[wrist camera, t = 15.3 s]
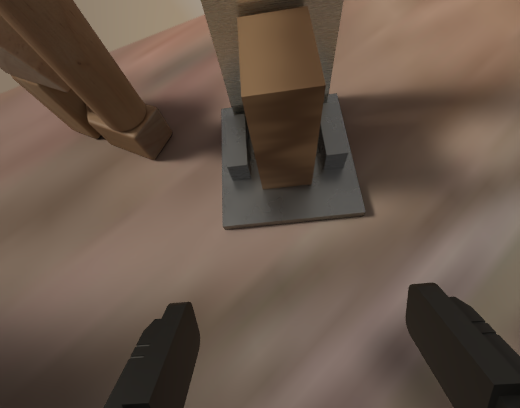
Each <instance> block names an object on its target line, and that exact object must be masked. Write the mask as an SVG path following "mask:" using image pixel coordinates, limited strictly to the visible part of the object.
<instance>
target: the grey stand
mask: <svg viewBox="0 0 520 408" xmlns="http://www.w3.org/2000/svg"><path fill="white" fill-rule="evenodd" d="M201 2H202V6H203V9H204V13H205V17H206V20H207V23H208V27H209V30H210V34H211V37H212V41H213V44H214V48H215V51H216V55H217V58H218V62H219V65H220V69H221V72H222V75H223V79H224V82H225V86H226V89H227V93H228V96H229V100H230V103H231V107H232V108H225V109H221V116H222V206H223V228H224V229H225V230H227V229H237V228H247V227H257V226H267V225H277V224H287V223H297V222H307V221H317V220H327V219H337V218H347V217H357V216H363V215H364V214H365V207H364V203H363V199H362V195H361V191H360V187H359V183H358V179H357V175H356V170H355V166H354V162H353V158H352V154H351V150H350V146H349V142H348V138H347V133H346V129H345V125H344V121H343V117H342V113H341V109H340V105H339V101H338V96H337V93H336V94H329V88H330V81H331V75H332V69H333V63H334V56H335V50H336V44H337V37H338V31H339V25H340V19H341V12H342V6H343V0H201ZM305 6H308V9H309V13H310V18H311V22H312V26H313V31H314V35H315V40H316V44H317V49H318V53H319V57H320V62H321V66H322V71H323V75H324V80H325V84H326V88H325V95H324V102H323V109H322V116H321V123H320V130H319V137H318V144H317V151H316V158H315V165H314V172H313V179H312V184H308V185H299V186H290V187H281V188H272V189H262V184H261V180H260V176H259V171H258V167H257V163H256V159H255V154H254V150H253V146H252V141H251V137H250V133H249V128H248V124H247V120H246V115H245V111H244V107H243V103H242V98H241V83H240V64H239V45H238V26H237V17H243V16H249V15H256V14H262V13H268V12H274V11H280V10H286V9H293V8H299V7H305Z"/></svg>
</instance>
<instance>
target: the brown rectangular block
mask: <svg viewBox="0 0 520 408" xmlns="http://www.w3.org/2000/svg"><path fill="white" fill-rule="evenodd" d="M237 26H238V45H239V64H240V83H241V98H242V103H243V107H244V111H245V115H246V120H247V124H248V128H249V133H250V137H251V141H252V146H253V150H254V154H255V159H256V163H257V167H258V171H259V176H260V180H261V184H262V189H272V188H281V187H290V186H299V185H308V184H312V179H313V172H314V165H315V158H316V151H317V144H318V137H319V130H320V123H321V116H322V109H323V102H324V95H325V88H326V84H325V80H324V75H323V71H322V66H321V62H320V57H319V53H318V49H317V44H316V40H315V35H314V31H313V26H312V22H311V18H310V13H309V9H308V6H305V7H299V8H293V9H286V10H280V11H274V12H268V13H262V14H256V15H249V16H243V17H237Z"/></svg>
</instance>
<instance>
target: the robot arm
mask: <svg viewBox="0 0 520 408" xmlns="http://www.w3.org/2000/svg"><path fill="white" fill-rule="evenodd" d="M406 325H407V328H408V331H409V334H410V336H411V337H412V339H413V341H414V342H415V344H416V346H417V347H418V349H419V351H420V352H421V354H422V356H423V357H424V359H425V360H426V362H427V364H428V365H429V367H430V369H431V370H432V372H433V374H434V375H435V377H436V379H437V380H438V382H439V384H440V385H441V387H442V389H443V390H444V392H445V394H446V395H447V397H448V398H449V400H450V402H451V403H452V405H453V407H454V408H520V356H519V355H518V354H517V353H516V352H515V351H514V350H513V349H512V348H511V347H510V346H509V345H508V344H507V343H506V342H505V341H504V340H503V339H502V338H501V337H500V336H499V335H497V334H496V332H495V331H494V329H493V328H492V327H491V326H490V325H489V324H488V323H485V320H484V319H483V318H482V317H481V316H480V315H479V314H478V313H477V312H476V311H475V310H474V309H473V308H472V307H471V306H469V305H467V304H466V303H464V302H462V301H461V300H459V299H458V298H456V297H448V296H447V295H446V294H445V293H444V292H443V290H442V289H441V288H440V287H439V286H438V285H437V284H435V283H422V284H411V285H410V286H409V290H408V299H407V308H406ZM199 346H200V333H199V329H198V325H197V321H196V318H195V314H194V310H193V307H192V304H191V302H181V303H170V304H169V305H168V306H167V308H166V310H165V313H164V315H163V317H162V319H155V320H154V321H153V322H152V323H151V324H150V325H149V326H148V327H147V328H146V329H145V330H144V331H143V333H142V335H141V337H140V339H139V341H138V343H137V347H135V349H134V351H133V353H132V354H131V358H130V359H129V360H128V362H127V364H126V366H125V368H124V370H123V372H122V374H121V376H120V377H119V379H118V381H117V383H116V385H115V387H114V389H113V391H112V393H111V395H110V397H109V398H108V400H107V402H106V404H105V406H104V408H184V404H185V400H186V397H187V393H188V389H189V385H190V382H191V378H192V374H193V370H194V367H195V363H196V359H197V355H198V351H199Z"/></svg>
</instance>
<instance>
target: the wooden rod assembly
mask: <svg viewBox="0 0 520 408" xmlns="http://www.w3.org/2000/svg"><path fill="white" fill-rule="evenodd" d="M0 68H1V69H2V70H3V71H5V72H6V73H8V74H11V76H12V78H13V79H14V80H15V81H16V82H18V83H19V84H20V85H21V86H22V87H23V88H25V89H26V90H27V91H28V92H29V93H30V94H32V95H33V96H34V97H35V98H36V99H37V100H39V101H40V102H41V103H42V104H43V105H44V106H46V107H47V108H48V109H49V110H50V111H51V112H53V113H54V114H55V115H56V116H57V117H58V118H60V119H61V120H62V121H63V122H64V123H65V124H67V125H68V126H69V127H70V128H71V129H72V130H74V131H77V132H80V133H82V134H85V135H88V136H90V137H93V138H96V139H97V138H99V137H100V136H101V135H102V136H103V137H104V138H105V139H106V140H107V141H108V142H109V143H110V144H112V145H114V146H117V147H120V148H122V149H125V150H128V151H130V152H133V153H136V154H138V155H141V156H144V157H146V158H149V159H152V160H154V159H156V157H157V156H158V154H159V153H160V151H161V150H162V148H163V147H164V145H165V144H166V142H167V141H168V139H169V138H170V136H171V135H172V130H171V129H170V127H169V126H168V124H167V122H166V121H165V119H164V118H163V116H162V115H161V113H160V112H159V110H158V109H157V108H156V107H154V106H150V105H147V104H144V103H143V101H142V100H141V98H140V97H139V95H138V94H137V92H136V91H135V89H134V88H133V87H132V85H131V84H130V82H129V81H128V79H127V78H126V76H125V75H124V74H123V72H122V71H121V69H120V68H119V66H118V65H117V63H116V62H115V61H114V59H113V58H112V56H111V55H110V53H109V52H108V50H107V49H106V48H105V46H104V45H103V43H102V42H101V40H100V39H99V37H98V36H97V34H96V33H95V32H94V30H93V29H92V27H91V26H90V24H89V23H88V21H87V20H86V19H85V18H84V16H83V14H82V13H81V11H80V10H79V9H78V7H77V6H76V4H75V3H74V1H73V0H0Z"/></svg>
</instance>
